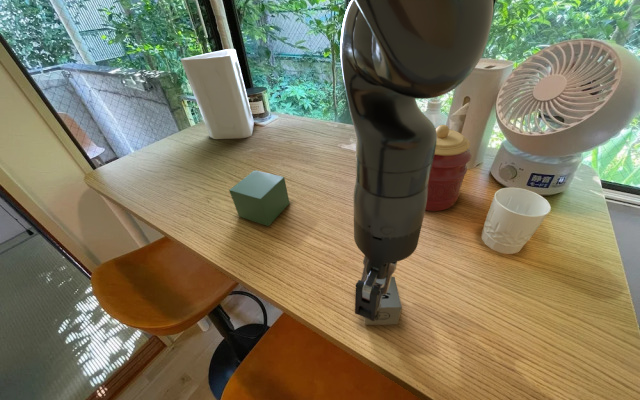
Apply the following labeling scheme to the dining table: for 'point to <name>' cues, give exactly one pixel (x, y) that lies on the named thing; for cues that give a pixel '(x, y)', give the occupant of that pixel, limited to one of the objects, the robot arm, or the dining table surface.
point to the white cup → (513, 219)
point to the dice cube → (388, 305)
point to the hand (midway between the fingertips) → (379, 290)
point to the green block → (260, 197)
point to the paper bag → (220, 93)
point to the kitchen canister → (447, 168)
